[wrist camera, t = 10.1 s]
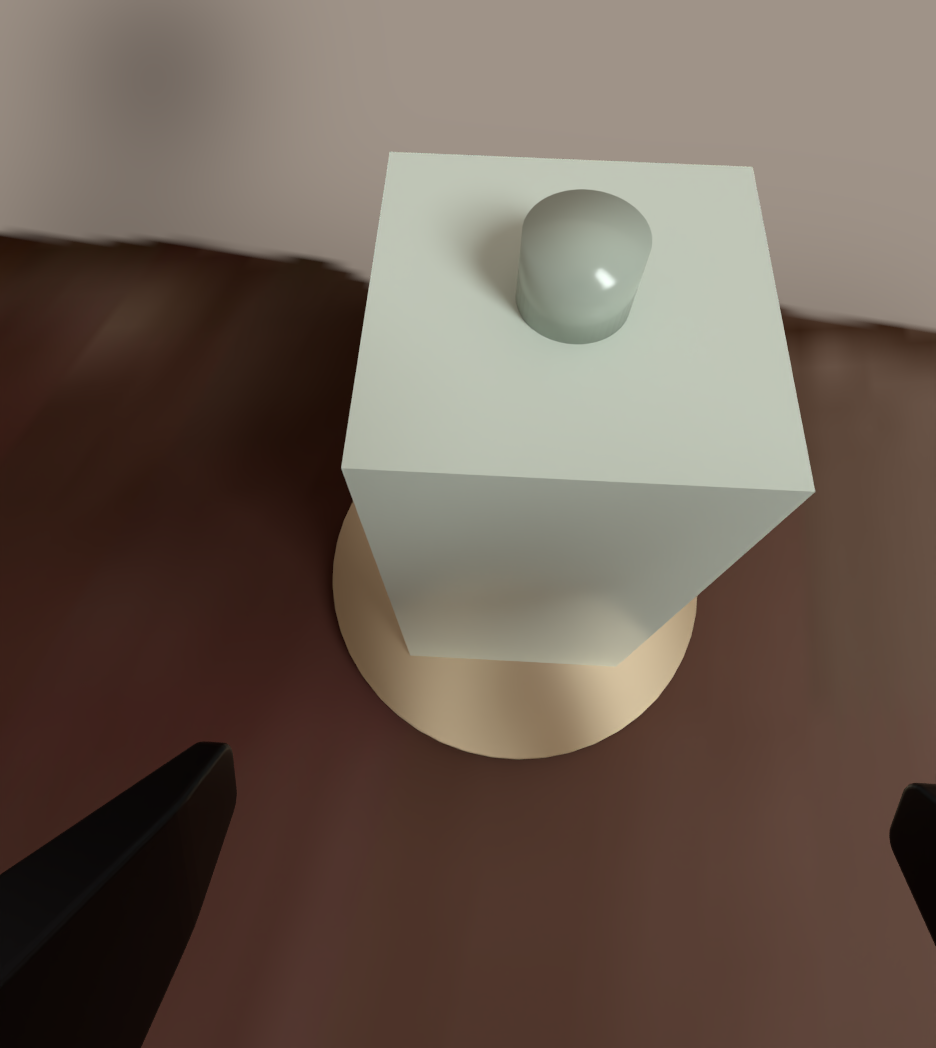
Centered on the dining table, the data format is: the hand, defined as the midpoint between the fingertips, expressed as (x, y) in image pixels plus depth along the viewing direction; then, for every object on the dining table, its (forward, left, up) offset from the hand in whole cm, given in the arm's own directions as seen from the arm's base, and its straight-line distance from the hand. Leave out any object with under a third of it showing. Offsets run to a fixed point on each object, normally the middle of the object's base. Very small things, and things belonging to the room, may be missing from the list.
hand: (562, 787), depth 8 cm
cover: (+3, +6, -10) cm, 13 cm away
